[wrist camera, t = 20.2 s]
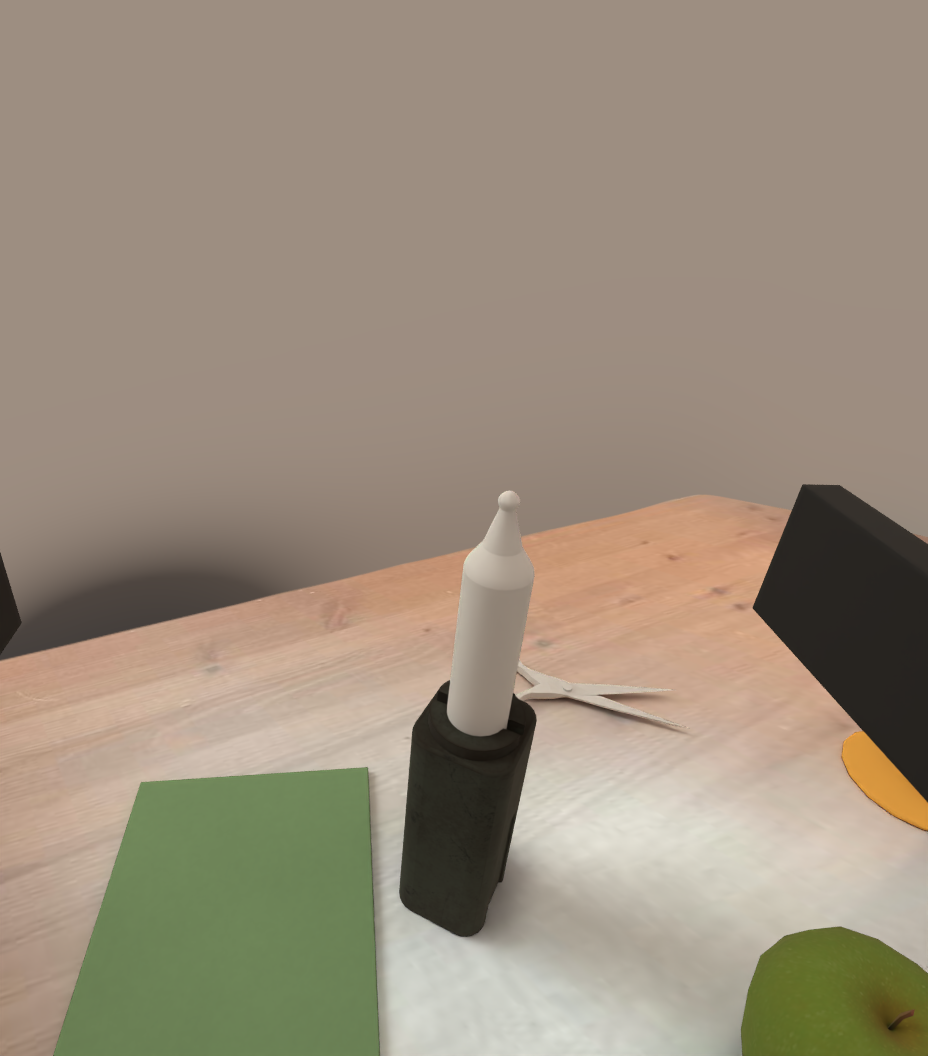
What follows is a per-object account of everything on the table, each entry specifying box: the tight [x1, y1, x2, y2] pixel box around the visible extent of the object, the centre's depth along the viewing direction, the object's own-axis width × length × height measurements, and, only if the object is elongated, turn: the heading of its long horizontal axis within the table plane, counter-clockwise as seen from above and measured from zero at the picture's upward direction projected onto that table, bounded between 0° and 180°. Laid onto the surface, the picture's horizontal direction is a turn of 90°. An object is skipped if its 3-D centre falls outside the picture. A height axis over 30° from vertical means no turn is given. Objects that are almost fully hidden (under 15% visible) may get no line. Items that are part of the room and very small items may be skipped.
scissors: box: [516, 660, 690, 729], centre depth 50 cm, size 11×1×20 cm
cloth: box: [53, 767, 380, 1056], centre depth 34 cm, size 14×16×1 cm
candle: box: [399, 491, 536, 936], centre depth 30 cm, size 5×5×25 cm
